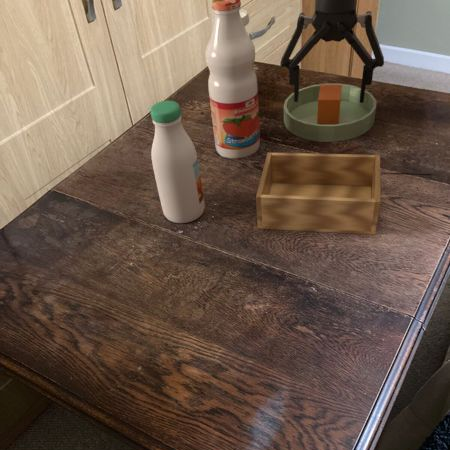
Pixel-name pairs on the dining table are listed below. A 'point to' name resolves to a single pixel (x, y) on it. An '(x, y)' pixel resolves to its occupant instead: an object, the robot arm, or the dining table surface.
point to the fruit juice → (232, 83)
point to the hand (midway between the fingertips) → (328, 99)
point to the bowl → (348, 119)
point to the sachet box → (329, 104)
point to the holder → (320, 193)
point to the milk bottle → (175, 165)
